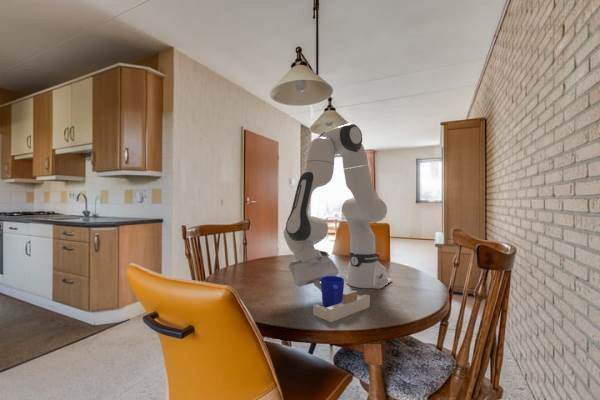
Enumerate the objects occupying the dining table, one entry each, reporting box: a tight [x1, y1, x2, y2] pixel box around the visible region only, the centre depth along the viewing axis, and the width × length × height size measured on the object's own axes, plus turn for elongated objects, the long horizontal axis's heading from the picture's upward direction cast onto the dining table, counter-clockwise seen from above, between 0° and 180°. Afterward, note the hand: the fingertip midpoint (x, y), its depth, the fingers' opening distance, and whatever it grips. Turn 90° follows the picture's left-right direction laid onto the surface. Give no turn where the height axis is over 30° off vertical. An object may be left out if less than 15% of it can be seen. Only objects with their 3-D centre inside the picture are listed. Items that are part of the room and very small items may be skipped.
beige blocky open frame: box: [312, 290, 371, 323], centre depth 100 cm, size 20×8×7 cm, turn 131°
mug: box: [320, 275, 345, 308], centre depth 101 cm, size 8×12×10 cm
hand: (325, 291), depth 106 cm, fingers closed, pressing on mug
